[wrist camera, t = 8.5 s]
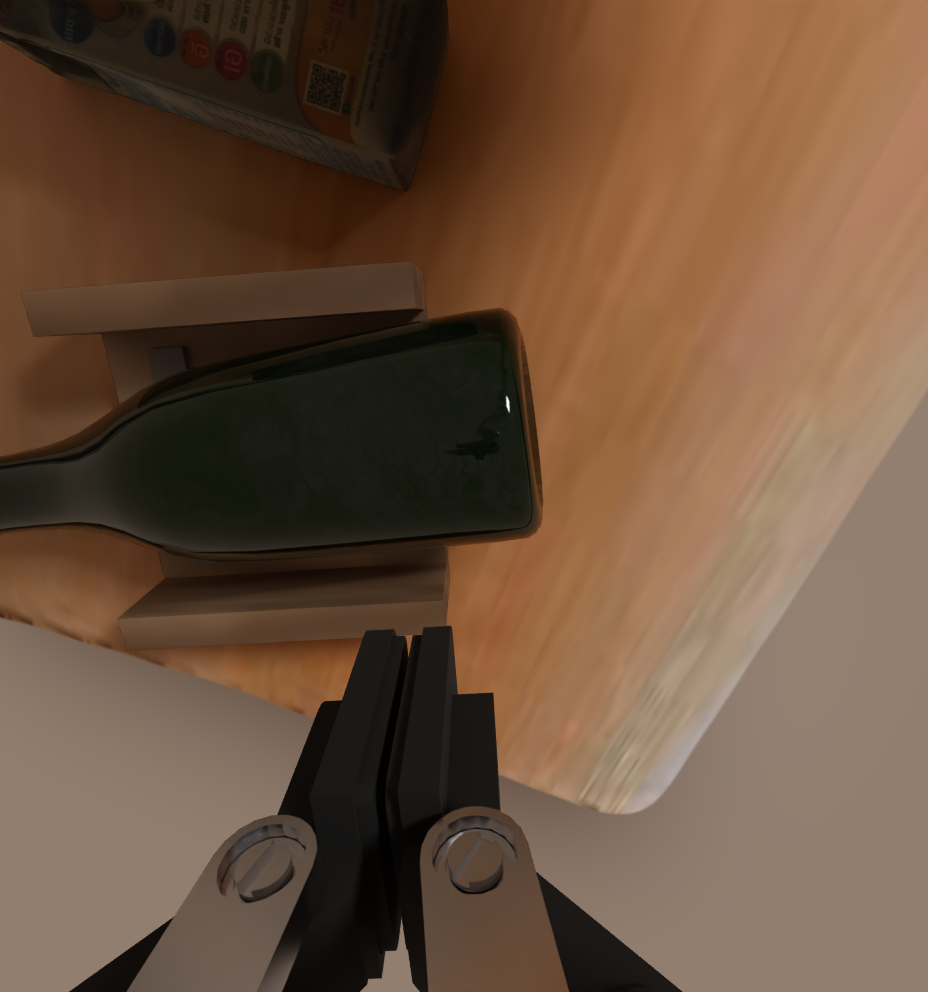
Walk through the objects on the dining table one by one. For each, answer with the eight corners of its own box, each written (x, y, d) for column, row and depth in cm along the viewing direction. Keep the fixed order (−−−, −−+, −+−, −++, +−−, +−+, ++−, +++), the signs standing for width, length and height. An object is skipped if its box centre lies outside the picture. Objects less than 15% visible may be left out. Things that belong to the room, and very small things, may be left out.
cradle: (108, 296, 32) (20, 291, 25) (423, 272, 31) (411, 261, 25) (183, 595, 37) (126, 650, 31) (449, 579, 37) (445, 632, 31)
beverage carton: (70, -112, 26) (-57, -247, 20) (458, 30, 28) (455, -54, 21) (57, 79, 29) (-59, 11, 22) (416, 200, 30) (402, 168, 24)
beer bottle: (511, 251, 24) (-100, 369, 30) (525, 442, 18) (-236, 541, 24) (536, 412, 32) (58, 479, 38) (551, 576, 27) (-15, 625, 33)
